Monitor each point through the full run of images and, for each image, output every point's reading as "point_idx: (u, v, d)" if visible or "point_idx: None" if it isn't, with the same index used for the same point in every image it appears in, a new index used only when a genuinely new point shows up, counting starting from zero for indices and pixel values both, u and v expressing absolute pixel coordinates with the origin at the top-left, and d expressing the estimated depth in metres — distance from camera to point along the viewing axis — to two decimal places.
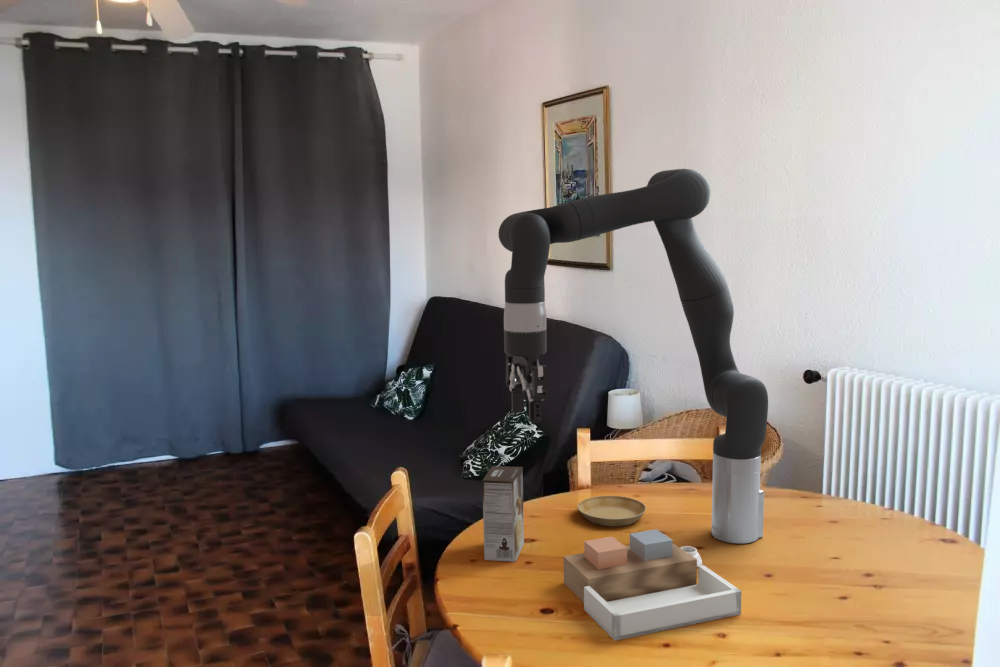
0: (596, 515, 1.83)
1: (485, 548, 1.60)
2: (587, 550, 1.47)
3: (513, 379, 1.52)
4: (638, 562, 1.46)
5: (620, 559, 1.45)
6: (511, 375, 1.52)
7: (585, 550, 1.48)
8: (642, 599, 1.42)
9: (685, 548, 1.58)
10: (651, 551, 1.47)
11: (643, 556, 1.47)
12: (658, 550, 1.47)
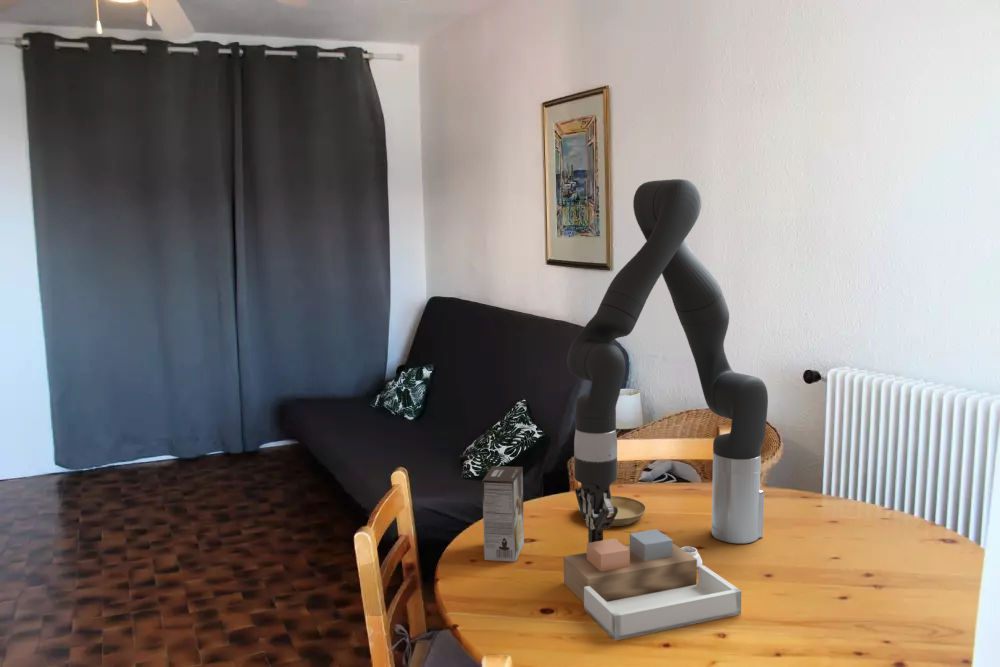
0: None
1: (485, 548, 1.60)
2: (589, 552, 1.47)
3: (586, 507, 1.49)
4: (638, 562, 1.46)
5: (623, 561, 1.44)
6: (583, 505, 1.50)
7: (588, 552, 1.47)
8: (642, 599, 1.42)
9: (685, 548, 1.58)
10: (651, 551, 1.47)
11: (643, 556, 1.47)
12: (658, 550, 1.47)
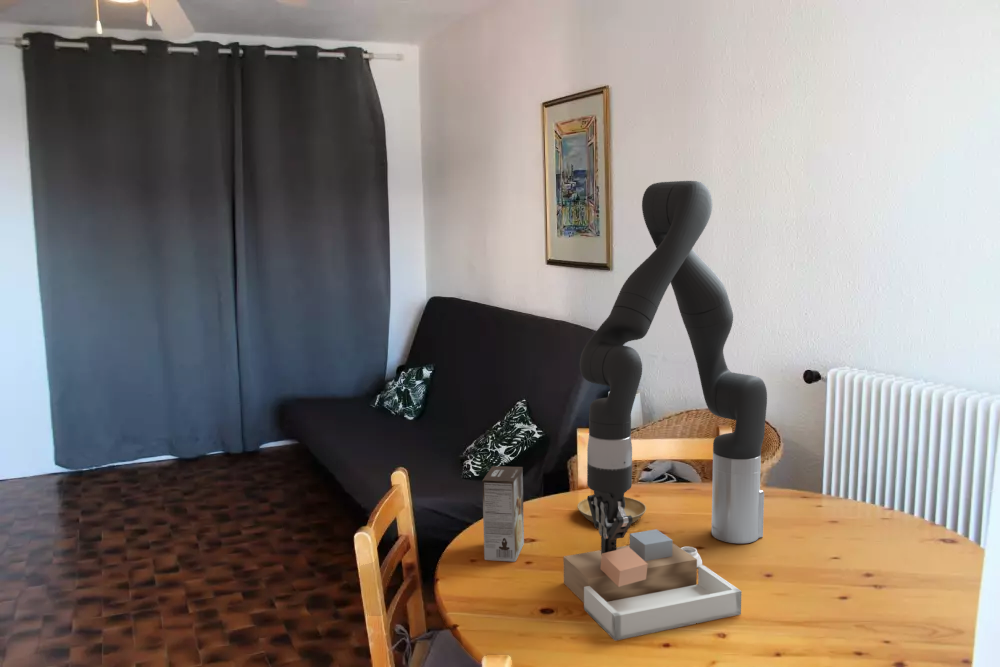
0: None
1: (485, 548, 1.60)
2: (605, 563, 1.41)
3: (600, 516, 1.44)
4: None
5: (640, 575, 1.40)
6: (596, 513, 1.45)
7: (602, 563, 1.42)
8: (642, 599, 1.42)
9: (685, 549, 1.58)
10: (651, 551, 1.47)
11: (643, 556, 1.47)
12: (658, 550, 1.47)
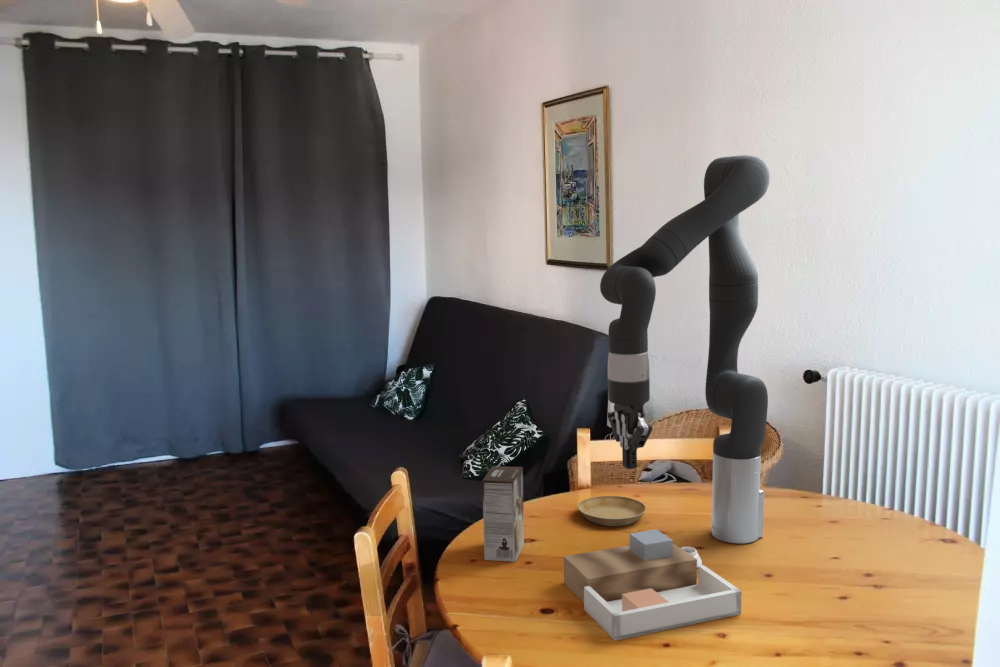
0: (596, 515, 1.83)
1: (485, 548, 1.60)
2: None
3: (620, 428, 1.54)
4: (638, 562, 1.46)
5: None
6: (617, 426, 1.55)
7: None
8: None
9: (685, 549, 1.58)
10: (651, 551, 1.47)
11: (643, 556, 1.47)
12: (658, 550, 1.47)
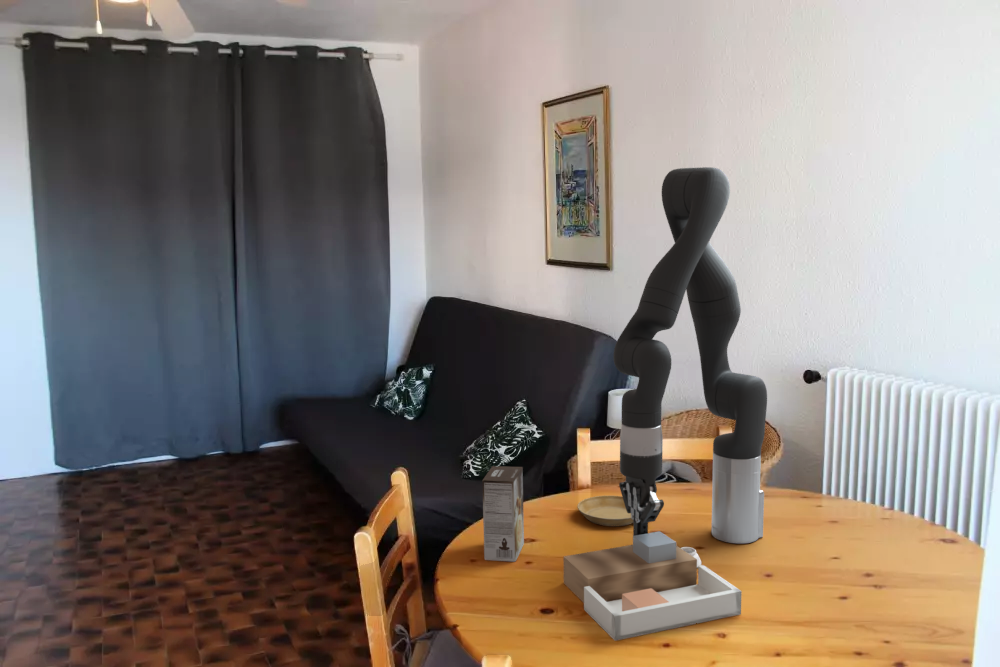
0: (596, 515, 1.83)
1: (485, 548, 1.60)
2: None
3: (632, 501, 1.52)
4: (638, 562, 1.46)
5: None
6: (629, 498, 1.53)
7: None
8: None
9: (684, 549, 1.58)
10: (655, 554, 1.46)
11: (647, 559, 1.46)
12: (662, 552, 1.46)
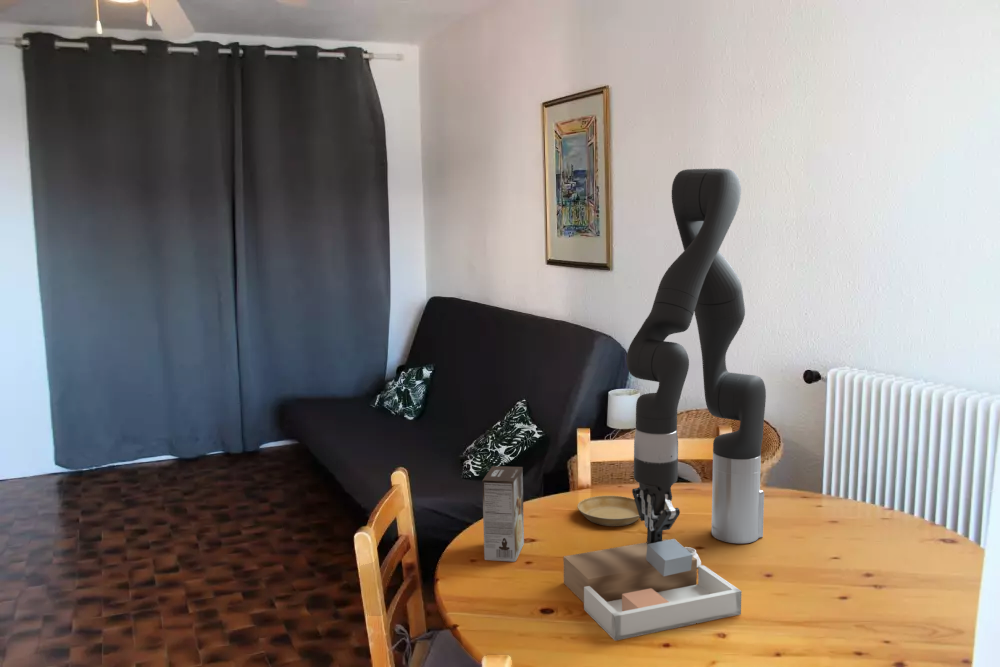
0: (596, 515, 1.83)
1: (485, 548, 1.60)
2: None
3: (646, 508, 1.47)
4: (638, 562, 1.46)
5: None
6: (642, 505, 1.48)
7: None
8: None
9: None
10: (671, 566, 1.42)
11: (662, 571, 1.42)
12: (677, 565, 1.42)
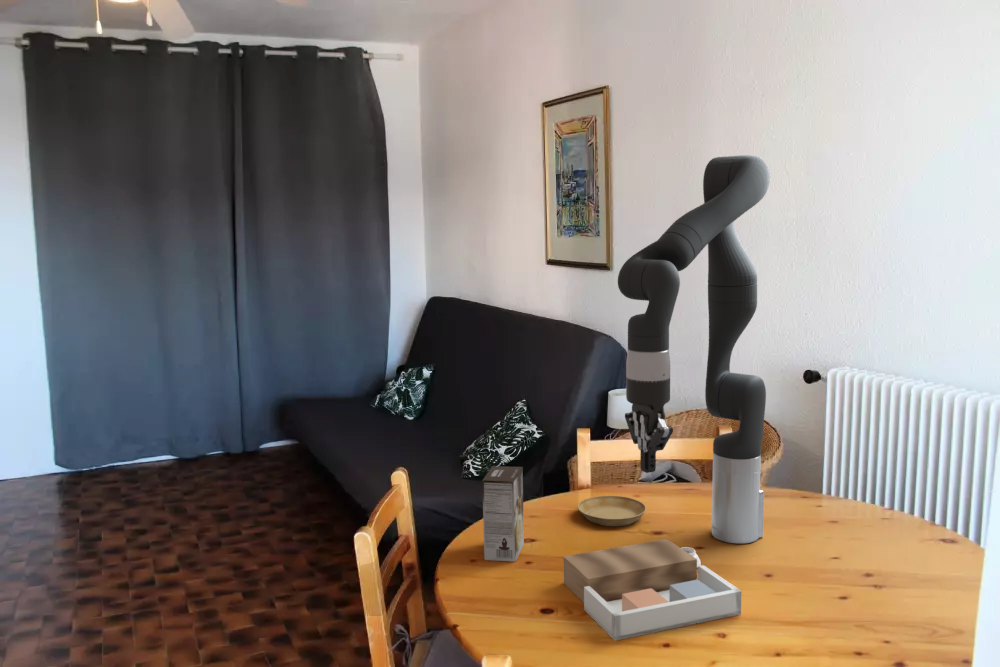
0: (596, 515, 1.83)
1: (485, 548, 1.60)
2: None
3: (639, 430, 1.47)
4: (638, 562, 1.46)
5: None
6: (635, 428, 1.48)
7: None
8: None
9: (684, 549, 1.58)
10: None
11: (671, 590, 1.40)
12: None
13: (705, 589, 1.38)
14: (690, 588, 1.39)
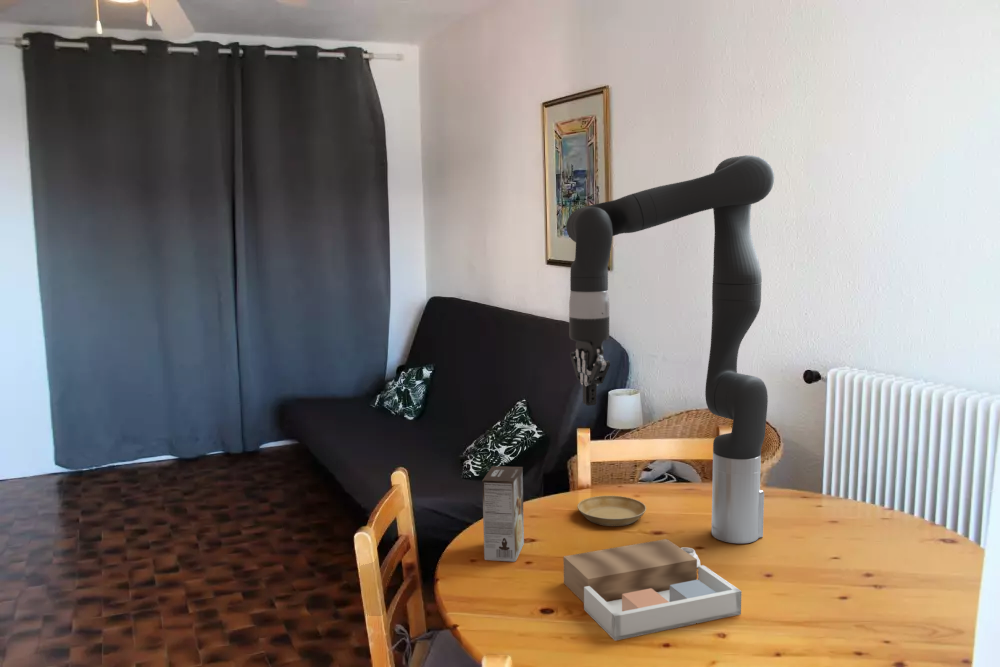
0: (596, 515, 1.83)
1: (485, 548, 1.60)
2: None
3: (581, 366, 1.60)
4: (638, 562, 1.46)
5: None
6: (578, 364, 1.60)
7: None
8: None
9: (683, 549, 1.58)
10: None
11: (671, 590, 1.40)
12: None
13: (705, 589, 1.38)
14: (690, 588, 1.39)
